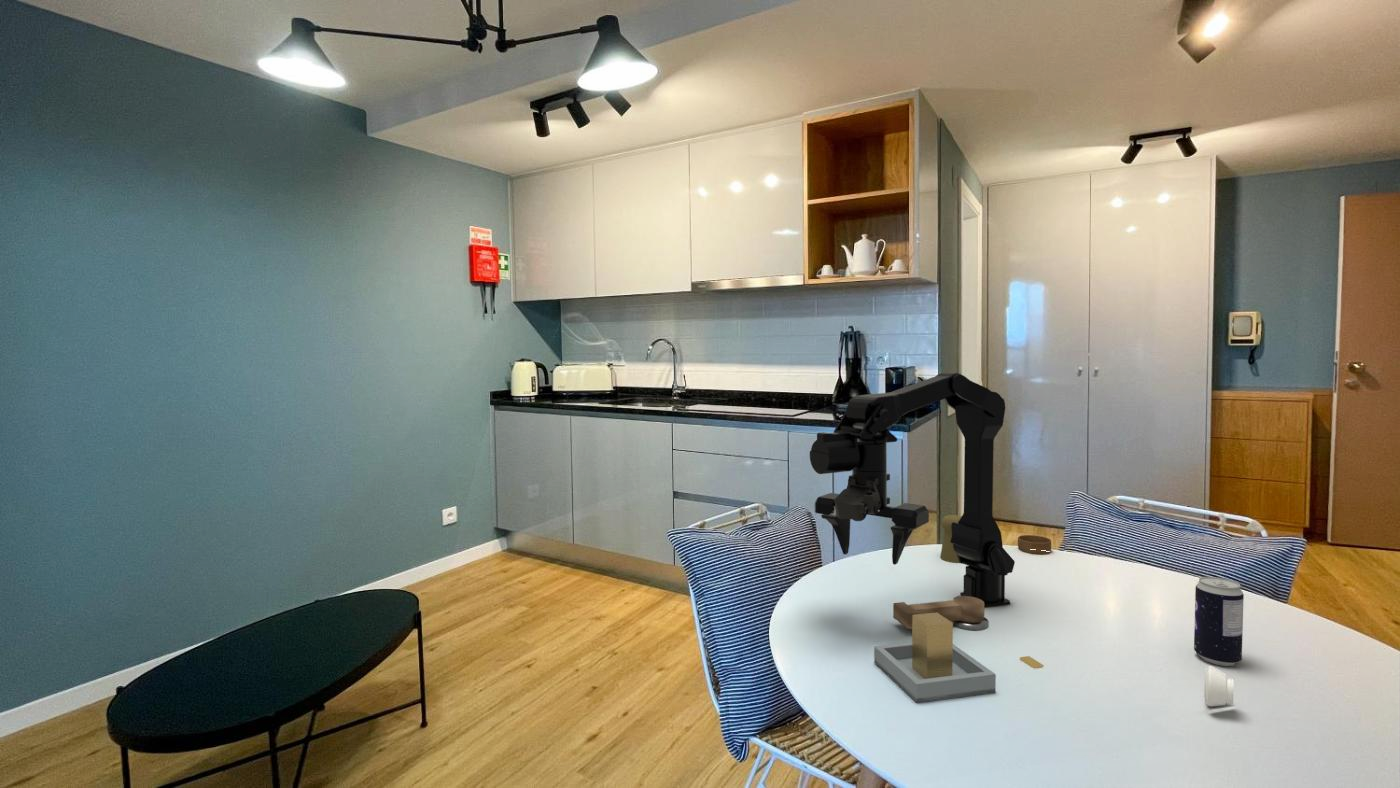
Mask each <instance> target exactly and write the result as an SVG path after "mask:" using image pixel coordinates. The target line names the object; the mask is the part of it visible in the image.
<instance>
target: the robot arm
mask: <svg viewBox="0 0 1400 788" xmlns="http://www.w3.org/2000/svg"><path fill="white" fill-rule="evenodd" d="M942 400H943V401H944V403H945V404H946V405H947V406H948V407H950V408H952V409H953V410H954V413H955V420H956V421H955V422H956V424H957V426H958V428H959V430H960V432H961V434H962V436H963V437H964V461H963V462H964V466H963V467H964V468H963V469H964V470H963V471H964V472H963V474H964V475H963V480H964V481H963V513H962V515H961V518H960V520H959V521H958V523H957V522H953V523H952V525H951V529H952V538H951V541H950V543H952V544H953V549H954V551H955V552H956V553H957V557H958V560H959V563H958V564H961V565H965V574H964V575H963V591H962V592H960V594H959V596H970V597H975V598H978V599H981V600H982V601H984V607H991V606H993V607H994V606H1003V605H1010V604H1011V600H1009V599H1007V598H1005V597H1006V596H1005V595H1006V593H1005V590H1006V589H1005V588H1006V585H1005V584H1006V583H1005V581H1006V580H1005V579H1006V576H1008V574H1012V573H1013V571H1014V566H1015V562H1016V561H1015V559H1013V558H1012V556H1010V554H1009V553H1008V552H1007V551H1006V550H1005V548H1004V546H1003V537H1002V531H1001V529H1000V528H999V526H998V524H997V522H996V519H995V518H994V516H993V509H994V507H993V506H994V505H993V502H994V500H993V499H994V498H993V497H994V496H993V495H994V445H995V443H994V441H995V438H996V436H997V435H998V434H999V432H1000V430H1001V429H1002V427H1003V425H1004V421H1005V420H1004V418H1005V412H1006V401H1005V398H1004V397H1002V396H1001V395H1000V393H998V392H996V391H992V390H991V389H989V388H987V387H985V386H983V385H981V384H979V383H976V382H974V381H973V380H970V379H969V378H968V377H966V376H965V375H963V374H962V373H959V372H940V373H939V374H936V375H935V376H932V377H930V378H927V379H924V380H921V381H918V382H916V383H913V384H909V385H907V386H905V387H901V388H899V389H895V390H893V391H891V392H881V393H869V394H861V395H860V394H859V395H855V396H854V397H851V398H850V399H849V400H848V404H847V406H846V410H845V412H844V413H843V415H842V417H841V418H840V421H839V422H838V423H837V425H836V427H835V428H834V429H833V432H823V431H822V432H817V433H816V440H815V441H813V443H812V445H811V449H810V450H809V460H810V464H811V467H812V468H813V470H814V472H815V473H816V474H819V475H825V474H834V473H835V474H836V473H844V472H845V473H846V472H847V473H848V472H852V474H851V475H848V479H847V485H846V488H844V489H843V490H842V491H841V492H839V493H833V492H830V493H829V492H828V493H826V494H823V495H820V496H818V497H817V498H816V500H815V501H814V513H815V514H820V516H821V518H822V519H824V520H826V521H827V522H828V523H829V524H830V525H831V527H832V528H833V530H834V532H835V535H836V537H837V541H838V543H839V546H840V548H841V551H842V555H844V556H845V555H848V554H849V552H850V551H849V549H850V541H851V540H850V537H851V535H850V534H851V520H853V521H854V522H862V521H864V520H865V519H866V518H867V515H868V516H876V517H880V518H889V519H891V521H892V523H893V524H894V525H893V526H890V530H891V534H892V547H891V548H892V549H891V552H892V553H891V559H892V564H893V565H897V564H898V563H899V561H900V559H901V556H902V554H903V551H904V549H905V548H906V547H905V546H906V544H907V542H908V539H909V538H910V537H911V535H912V533H913V532H914V530H916V529H918V528H920V527H922V526H923V525H926V524H928V523H930V521H929V520H930V519H929V518H930V515H929V514H930V512H929V510H928V509H927V507H926V505H924V504H923V505H922V504H915V503H908V502H905V503H902V504H899V505H897V506H895V507H894V506H888V505H889V504H891V498H890V497H889V496H888V491H887V487H888V486H887V485H888V483H887V482H888V481H890V480H891V473H888V472H887V471H888V469H887V467H888V466H887V465H888V464H887V456H888V455H887V444H888V443H895V442H897V441H898V437H896V436H895V435H894V434H892V432H891V431H890V430H889V428H890V427H892V426H893V425H895V424H897V423H898V422H899V421H900V419H901V418H902V416H904V415H906V414H907V413H910V412H913V411H915V410H919V409H921V408H924V407H926V406H929V405H932V404H934V403H937V402H939V401H942Z"/></svg>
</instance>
